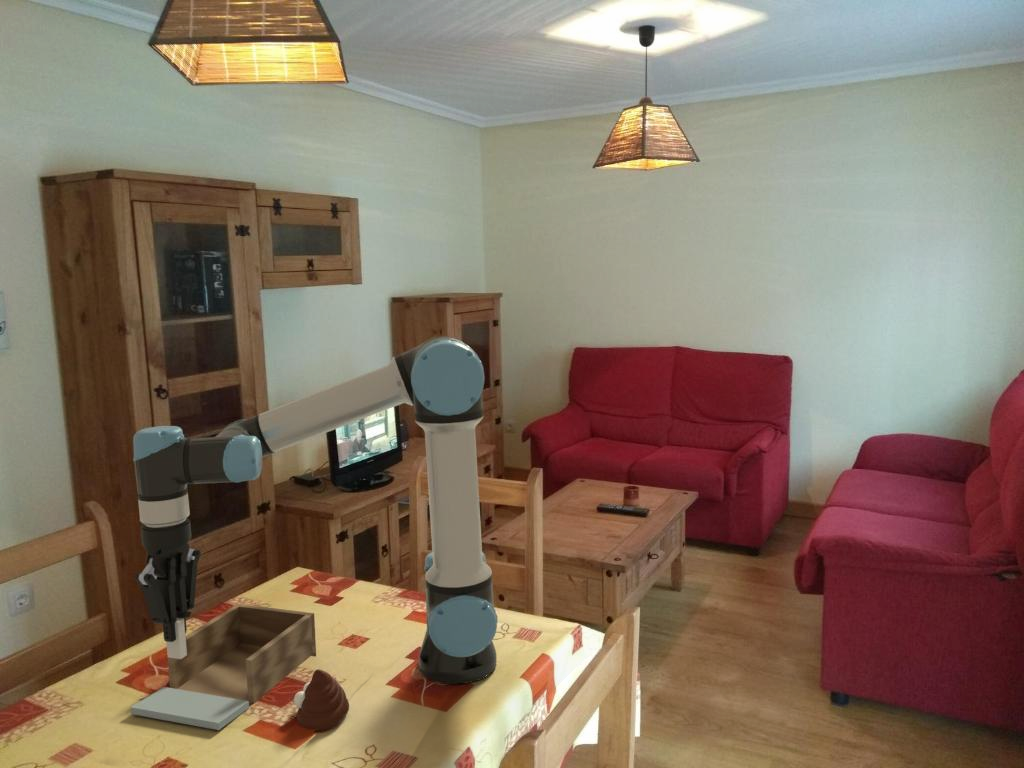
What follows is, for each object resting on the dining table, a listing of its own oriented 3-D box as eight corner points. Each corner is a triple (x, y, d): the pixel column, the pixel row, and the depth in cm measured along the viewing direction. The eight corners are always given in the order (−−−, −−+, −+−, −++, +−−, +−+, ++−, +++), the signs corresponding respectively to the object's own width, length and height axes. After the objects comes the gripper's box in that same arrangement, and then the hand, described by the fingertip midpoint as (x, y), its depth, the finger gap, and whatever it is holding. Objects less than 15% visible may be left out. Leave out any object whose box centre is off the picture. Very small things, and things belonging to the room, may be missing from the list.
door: (163, 686, 142) (130, 707, 135) (248, 701, 137) (218, 723, 129) (164, 693, 142) (130, 713, 135) (248, 707, 137) (219, 730, 129)
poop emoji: (332, 738, 130) (329, 684, 128) (285, 731, 132) (282, 679, 130) (358, 706, 139) (355, 656, 138) (314, 700, 141) (311, 651, 140)
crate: (240, 644, 163) (237, 603, 162) (316, 655, 158) (314, 613, 157) (170, 694, 144) (166, 647, 143) (254, 708, 139) (251, 660, 138)
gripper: (174, 508, 136) (185, 636, 139) (116, 531, 124) (130, 672, 127) (210, 510, 134) (221, 641, 137) (155, 534, 122) (168, 677, 125)
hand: (177, 656), depth 132 cm, fingers closed
